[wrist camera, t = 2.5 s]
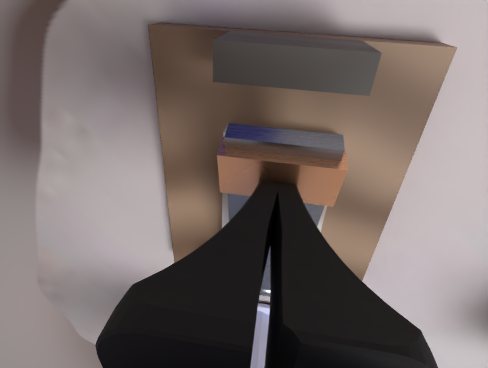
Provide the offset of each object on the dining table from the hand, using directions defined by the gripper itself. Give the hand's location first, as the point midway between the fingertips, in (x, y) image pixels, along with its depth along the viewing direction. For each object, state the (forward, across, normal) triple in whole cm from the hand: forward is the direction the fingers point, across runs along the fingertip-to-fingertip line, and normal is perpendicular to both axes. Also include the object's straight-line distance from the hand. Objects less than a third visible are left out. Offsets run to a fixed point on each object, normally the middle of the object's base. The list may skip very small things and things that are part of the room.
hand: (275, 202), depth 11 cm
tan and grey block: (+3, 0, +4) cm, 4 cm away
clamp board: (+7, 0, +3) cm, 8 cm away
